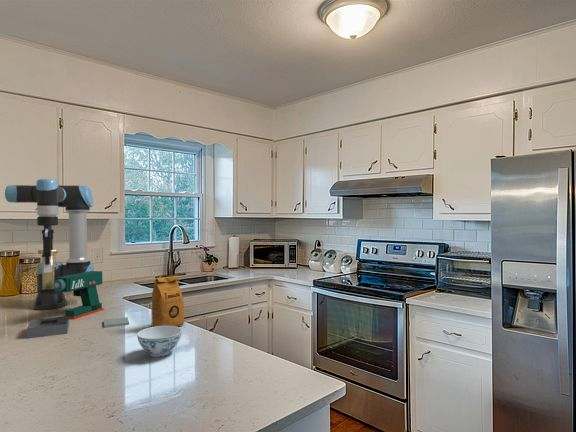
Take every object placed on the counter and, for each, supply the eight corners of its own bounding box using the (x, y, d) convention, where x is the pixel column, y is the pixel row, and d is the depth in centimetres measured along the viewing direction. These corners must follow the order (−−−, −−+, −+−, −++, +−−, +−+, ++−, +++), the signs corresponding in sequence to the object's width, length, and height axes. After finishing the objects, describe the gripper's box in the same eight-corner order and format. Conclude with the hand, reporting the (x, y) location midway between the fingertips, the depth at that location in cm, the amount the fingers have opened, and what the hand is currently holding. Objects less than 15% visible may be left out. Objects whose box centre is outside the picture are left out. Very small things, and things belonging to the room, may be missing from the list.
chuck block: (31, 329, 170) (31, 319, 170) (69, 324, 176) (69, 315, 176) (26, 338, 157) (26, 328, 157) (67, 333, 164) (67, 323, 164)
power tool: (49, 327, 173) (48, 281, 172) (37, 326, 175) (36, 281, 174) (104, 310, 203) (103, 271, 203) (93, 309, 205) (93, 270, 205)
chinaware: (140, 364, 129) (140, 341, 129) (134, 350, 143) (134, 329, 143) (186, 356, 136) (186, 334, 136) (177, 344, 150) (176, 323, 149)
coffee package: (187, 326, 172) (186, 276, 172) (160, 332, 164) (159, 279, 164) (175, 322, 180) (175, 273, 179) (149, 327, 171) (148, 277, 171)
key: (39, 288, 167) (39, 249, 167) (58, 286, 170) (58, 248, 170) (38, 290, 163) (37, 250, 163) (57, 288, 166) (57, 249, 166)
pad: (103, 322, 180) (103, 319, 180) (127, 319, 185) (127, 317, 185) (104, 327, 172) (104, 325, 172) (129, 324, 176) (129, 322, 176)
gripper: (39, 215, 173) (40, 269, 173) (34, 216, 157) (35, 275, 157) (59, 215, 176) (60, 268, 176) (56, 216, 160) (56, 273, 161)
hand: (48, 271), depth 167 cm, fingers closed on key, 4 cm apart
